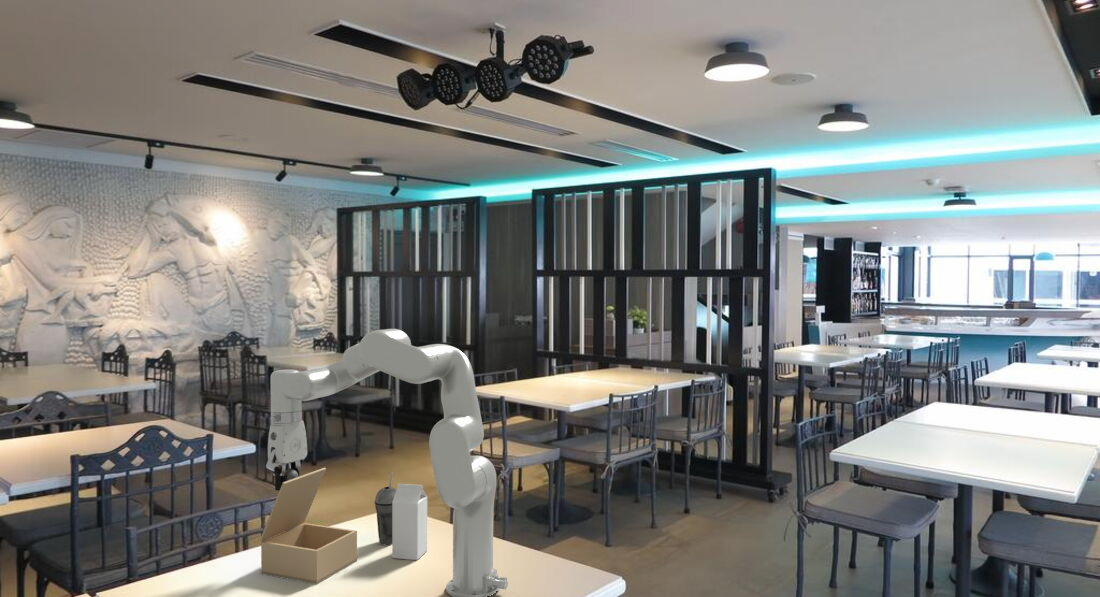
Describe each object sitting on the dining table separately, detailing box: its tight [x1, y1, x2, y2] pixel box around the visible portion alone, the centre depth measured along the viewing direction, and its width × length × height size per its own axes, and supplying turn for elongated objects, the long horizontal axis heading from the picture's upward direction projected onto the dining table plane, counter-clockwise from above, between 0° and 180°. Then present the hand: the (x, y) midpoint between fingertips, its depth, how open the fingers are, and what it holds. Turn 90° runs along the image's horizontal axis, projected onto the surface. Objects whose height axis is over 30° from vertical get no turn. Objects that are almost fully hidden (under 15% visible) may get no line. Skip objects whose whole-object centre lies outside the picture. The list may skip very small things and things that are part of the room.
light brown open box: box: [260, 522, 358, 585], centre depth 188 cm, size 17×16×8 cm
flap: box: [259, 467, 327, 542], centre depth 190 cm, size 17×16×6 cm
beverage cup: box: [374, 471, 397, 546], centre depth 206 cm, size 7×7×20 cm
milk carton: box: [391, 483, 428, 561], centre depth 197 cm, size 7×7×19 cm
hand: (287, 487), depth 190 cm, fingers closed on flap, 4 cm apart
